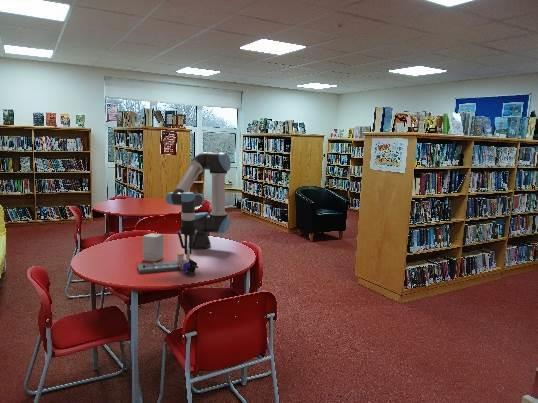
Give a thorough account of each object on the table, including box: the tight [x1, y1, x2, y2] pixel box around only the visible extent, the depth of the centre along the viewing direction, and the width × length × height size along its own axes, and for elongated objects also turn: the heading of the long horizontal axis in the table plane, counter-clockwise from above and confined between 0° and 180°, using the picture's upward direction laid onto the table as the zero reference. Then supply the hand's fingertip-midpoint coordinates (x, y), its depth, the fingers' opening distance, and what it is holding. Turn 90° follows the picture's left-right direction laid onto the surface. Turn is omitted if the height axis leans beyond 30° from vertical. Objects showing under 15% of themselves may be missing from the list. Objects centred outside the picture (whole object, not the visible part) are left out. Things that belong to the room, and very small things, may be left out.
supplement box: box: [142, 232, 164, 263], centre depth 248 cm, size 9×9×15 cm
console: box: [137, 259, 189, 275], centre depth 232 cm, size 28×12×3 cm, turn 111°
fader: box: [176, 252, 185, 264], centre depth 235 cm, size 3×3×6 cm
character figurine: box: [179, 258, 199, 276], centre depth 224 cm, size 8×7×15 cm
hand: (188, 259), depth 237 cm, fingers closed
